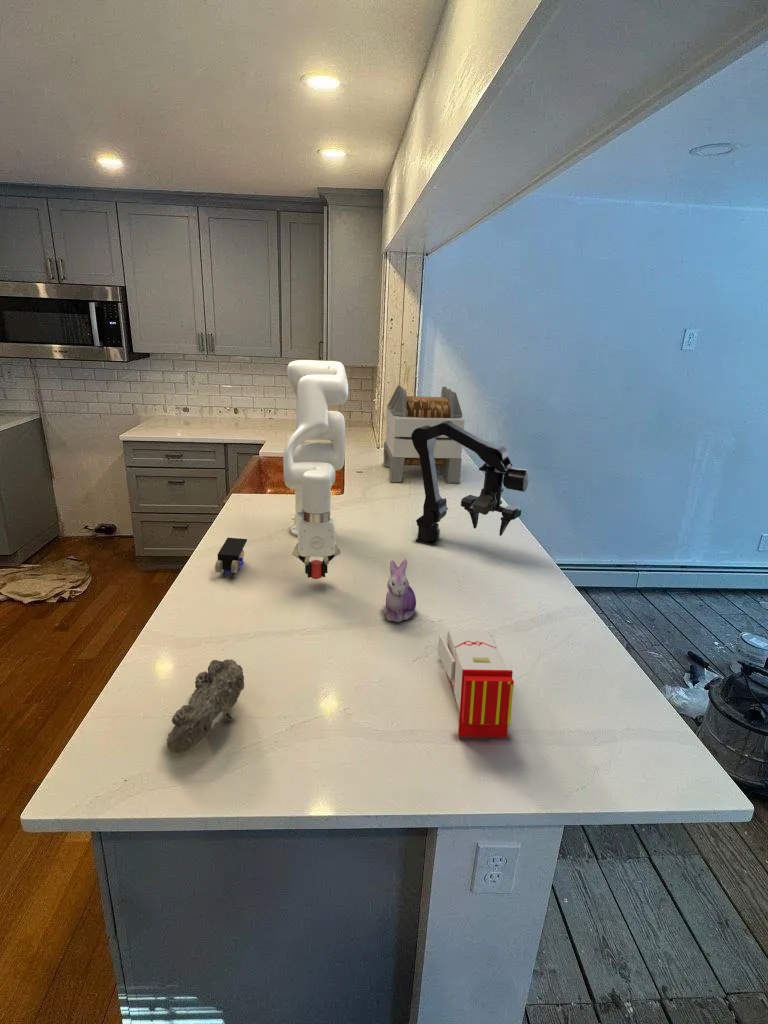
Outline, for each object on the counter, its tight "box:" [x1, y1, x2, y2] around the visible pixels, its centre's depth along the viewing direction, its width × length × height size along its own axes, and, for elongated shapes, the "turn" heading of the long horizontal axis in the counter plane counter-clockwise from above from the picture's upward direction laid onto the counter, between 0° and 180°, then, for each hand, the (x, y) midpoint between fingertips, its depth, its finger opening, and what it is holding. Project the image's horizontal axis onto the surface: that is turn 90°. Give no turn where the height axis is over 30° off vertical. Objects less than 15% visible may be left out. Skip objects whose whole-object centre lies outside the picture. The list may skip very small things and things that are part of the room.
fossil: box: [166, 658, 245, 754], centre depth 106 cm, size 22×10×15 cm
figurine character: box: [214, 537, 248, 578], centre depth 166 cm, size 7×8×15 cm
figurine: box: [384, 558, 417, 623], centre depth 145 cm, size 9×10×15 cm
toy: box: [437, 628, 515, 738], centre depth 117 cm, size 12×13×30 cm
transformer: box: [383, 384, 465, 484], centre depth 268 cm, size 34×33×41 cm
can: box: [310, 559, 323, 580], centre depth 160 cm, size 4×4×4 cm
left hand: (316, 574), depth 161 cm, fingers closed on can, 3 cm apart
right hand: (487, 531), depth 183 cm, fingers open, 9 cm apart
